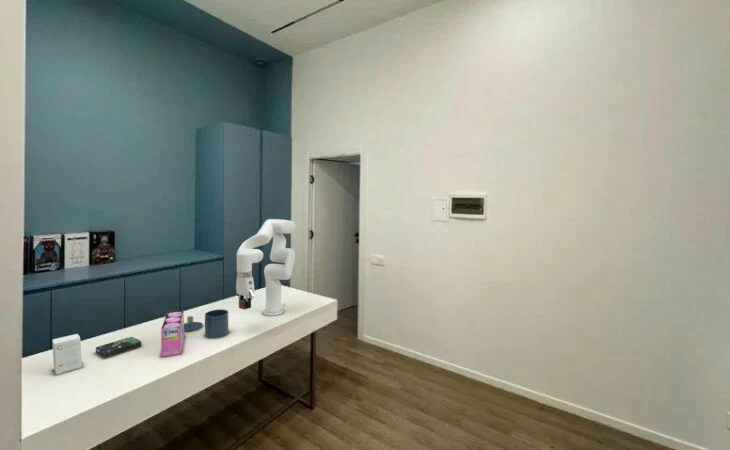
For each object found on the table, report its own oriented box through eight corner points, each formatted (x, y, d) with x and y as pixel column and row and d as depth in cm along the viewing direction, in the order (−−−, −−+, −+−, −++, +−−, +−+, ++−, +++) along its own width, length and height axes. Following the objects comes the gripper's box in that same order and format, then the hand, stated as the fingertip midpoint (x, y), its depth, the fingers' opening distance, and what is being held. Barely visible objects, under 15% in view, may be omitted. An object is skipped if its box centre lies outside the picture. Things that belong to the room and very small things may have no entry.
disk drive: (104, 359, 142) (142, 346, 155) (104, 353, 142) (141, 340, 154) (95, 353, 147) (132, 341, 160) (95, 347, 147) (131, 335, 160)
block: (246, 305, 176) (245, 297, 176) (251, 307, 174) (251, 299, 173) (238, 307, 172) (238, 299, 172) (244, 309, 170) (243, 301, 169)
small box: (79, 362, 139) (78, 333, 138) (82, 367, 134) (80, 337, 134) (53, 369, 132) (51, 339, 131) (55, 375, 128) (54, 343, 127)
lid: (195, 322, 186) (195, 311, 186) (207, 327, 179) (207, 316, 179) (173, 328, 176) (172, 318, 176) (184, 334, 169) (184, 323, 169)
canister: (220, 328, 178) (220, 308, 178) (232, 333, 172) (232, 312, 171) (200, 334, 169) (200, 313, 168) (212, 340, 163) (212, 318, 162)
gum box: (167, 336, 166) (167, 311, 165) (185, 334, 169) (184, 309, 168) (161, 357, 144) (160, 328, 143) (181, 354, 148) (180, 325, 147)
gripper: (260, 275, 170) (260, 308, 171) (240, 270, 179) (241, 302, 181) (248, 278, 164) (249, 312, 165) (228, 273, 173) (229, 306, 175)
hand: (245, 306), depth 173 cm, fingers closed on block, 4 cm apart
